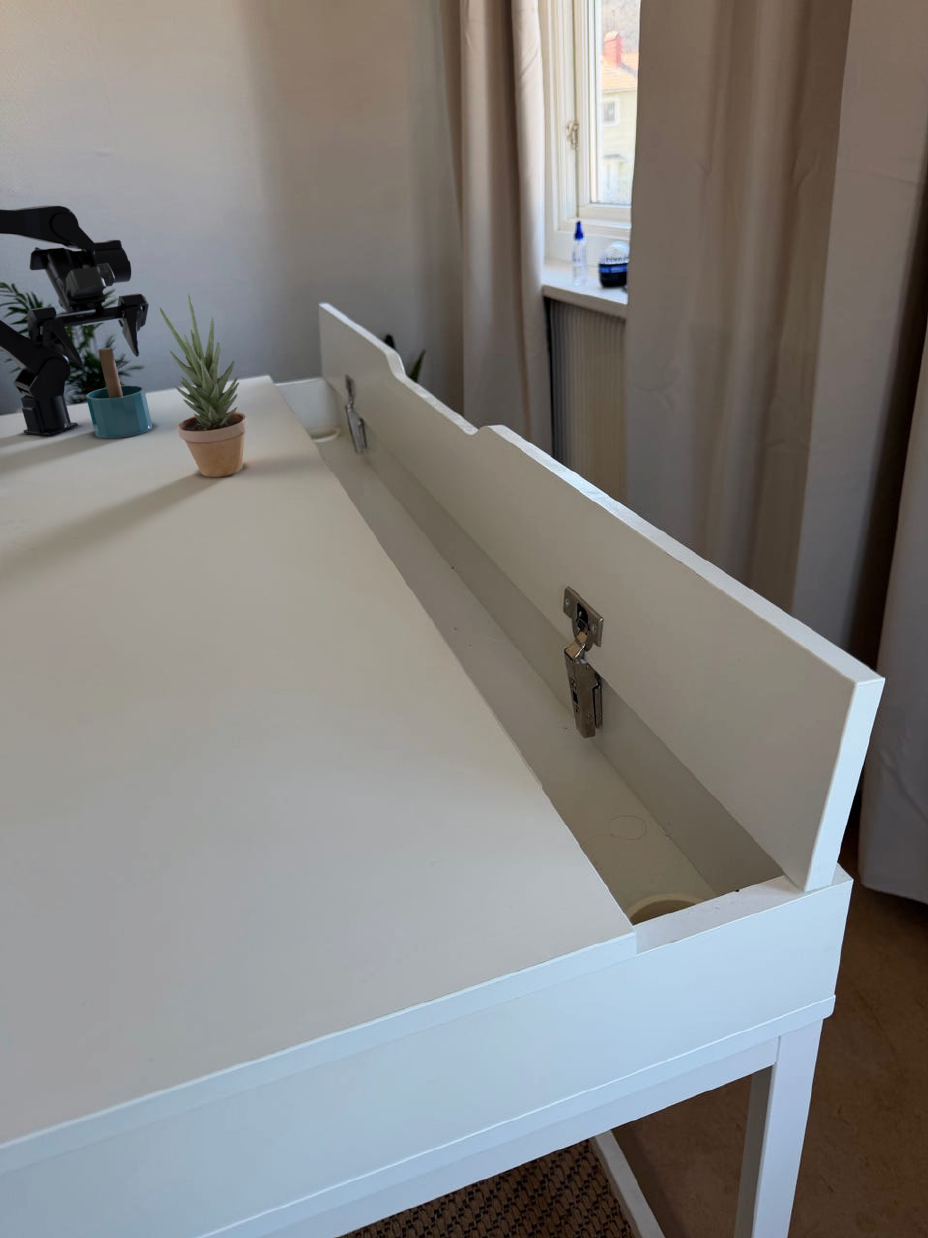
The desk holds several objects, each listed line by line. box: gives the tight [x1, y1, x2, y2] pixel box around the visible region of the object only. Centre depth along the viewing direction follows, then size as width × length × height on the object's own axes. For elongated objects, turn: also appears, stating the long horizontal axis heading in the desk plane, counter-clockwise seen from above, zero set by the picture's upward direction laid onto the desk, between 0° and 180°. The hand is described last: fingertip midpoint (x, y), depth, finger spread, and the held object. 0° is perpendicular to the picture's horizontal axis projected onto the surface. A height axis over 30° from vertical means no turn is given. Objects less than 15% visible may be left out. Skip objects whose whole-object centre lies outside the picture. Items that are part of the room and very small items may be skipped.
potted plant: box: [158, 292, 249, 478], centre depth 130 cm, size 10×10×25 cm
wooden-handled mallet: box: [97, 347, 123, 398], centre depth 156 cm, size 4×4×13 cm
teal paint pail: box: [85, 384, 153, 439], centre depth 157 cm, size 9×9×6 cm
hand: (110, 359), depth 152 cm, fingers open, 9 cm apart
